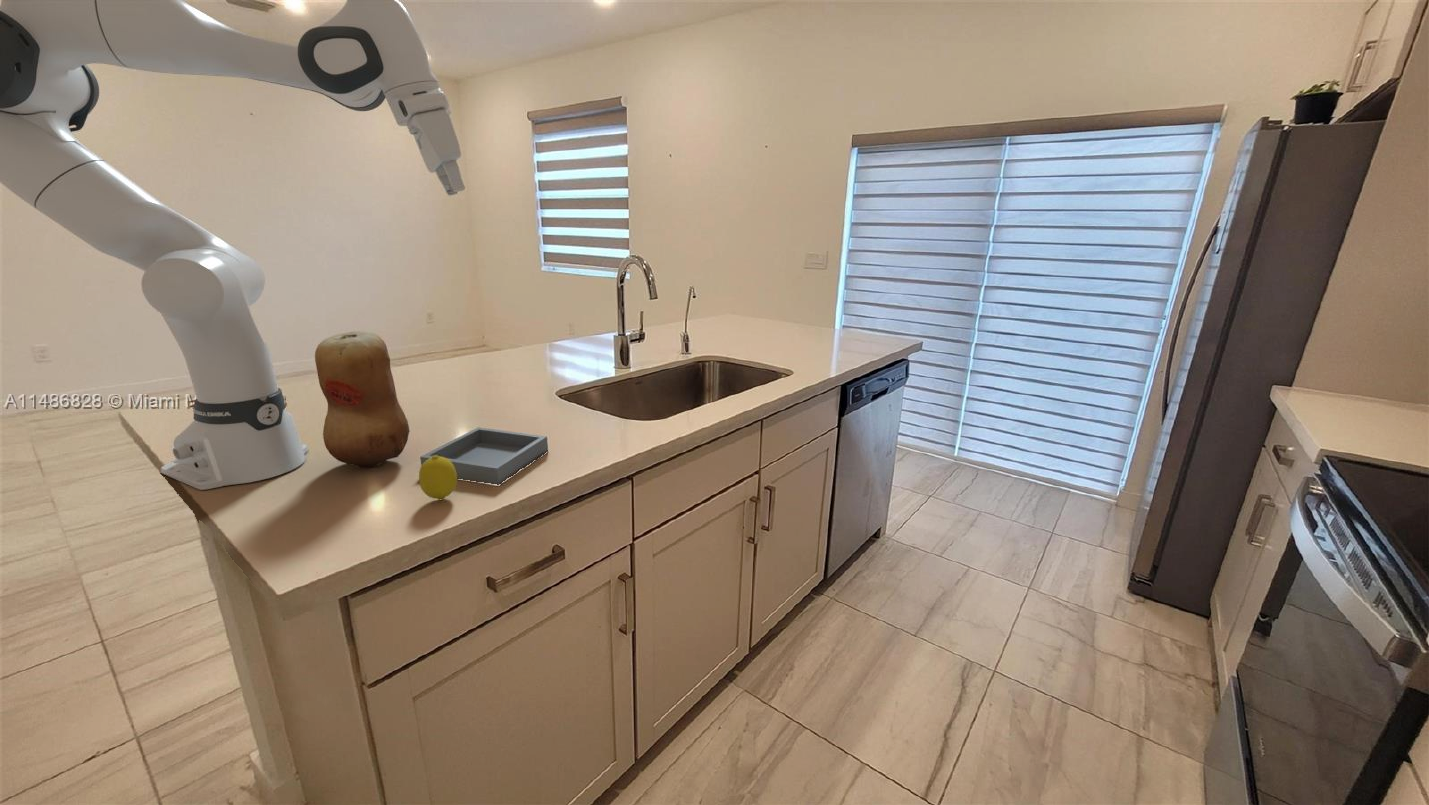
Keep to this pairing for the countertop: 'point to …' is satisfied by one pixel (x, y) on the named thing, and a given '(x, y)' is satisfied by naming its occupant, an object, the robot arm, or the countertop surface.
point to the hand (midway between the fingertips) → (456, 193)
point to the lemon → (437, 477)
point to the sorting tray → (490, 454)
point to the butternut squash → (360, 400)
